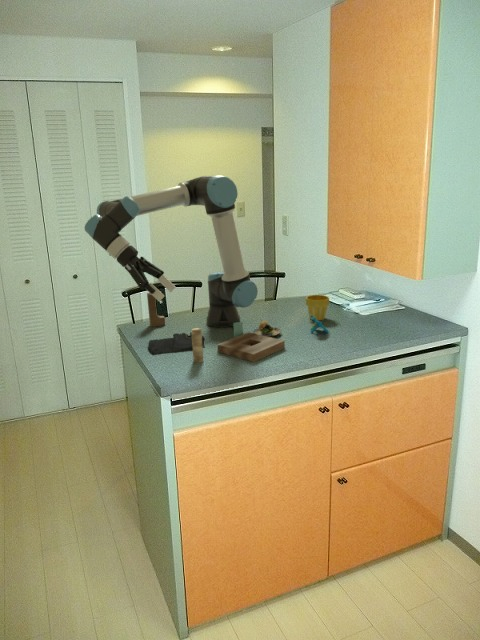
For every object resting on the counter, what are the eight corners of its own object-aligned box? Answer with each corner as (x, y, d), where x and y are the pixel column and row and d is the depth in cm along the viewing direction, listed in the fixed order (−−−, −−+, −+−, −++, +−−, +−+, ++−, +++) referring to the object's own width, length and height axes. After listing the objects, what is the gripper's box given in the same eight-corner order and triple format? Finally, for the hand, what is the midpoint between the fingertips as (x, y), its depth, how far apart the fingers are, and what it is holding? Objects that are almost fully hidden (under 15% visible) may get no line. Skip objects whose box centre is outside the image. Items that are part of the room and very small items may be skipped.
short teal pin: (232, 340, 207) (231, 323, 205) (238, 338, 210) (237, 321, 208) (238, 342, 205) (238, 325, 203) (244, 339, 207) (244, 323, 205)
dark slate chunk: (147, 344, 208) (146, 333, 207) (200, 337, 213) (199, 327, 212) (150, 357, 194) (149, 345, 193) (207, 349, 199) (207, 338, 198)
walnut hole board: (217, 351, 195) (217, 344, 194) (249, 339, 207) (248, 332, 206) (253, 362, 183) (253, 354, 182) (284, 348, 196) (284, 340, 195)
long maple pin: (191, 361, 186) (189, 330, 183) (198, 358, 189) (196, 327, 185) (198, 363, 184) (196, 331, 180) (205, 360, 186) (203, 329, 183)
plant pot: (332, 316, 233) (333, 295, 230) (323, 322, 225) (323, 301, 222) (311, 314, 238) (311, 293, 236) (302, 320, 230) (301, 298, 227)
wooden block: (150, 327, 229) (147, 294, 225) (149, 325, 232) (146, 292, 228) (165, 325, 231) (162, 292, 227) (164, 323, 234) (161, 291, 230)
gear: (331, 332, 206) (313, 315, 205) (321, 342, 207) (303, 326, 206) (327, 327, 217) (310, 311, 216) (318, 337, 218) (301, 322, 217)
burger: (268, 341, 204) (268, 323, 202) (246, 336, 212) (246, 319, 210) (287, 334, 213) (286, 316, 211) (265, 329, 220) (264, 312, 218)
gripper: (129, 254, 192) (171, 293, 194) (102, 266, 169) (149, 310, 170) (141, 239, 190) (183, 279, 192) (115, 250, 166) (163, 295, 168)
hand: (168, 294), depth 181 cm, fingers open, 13 cm apart
